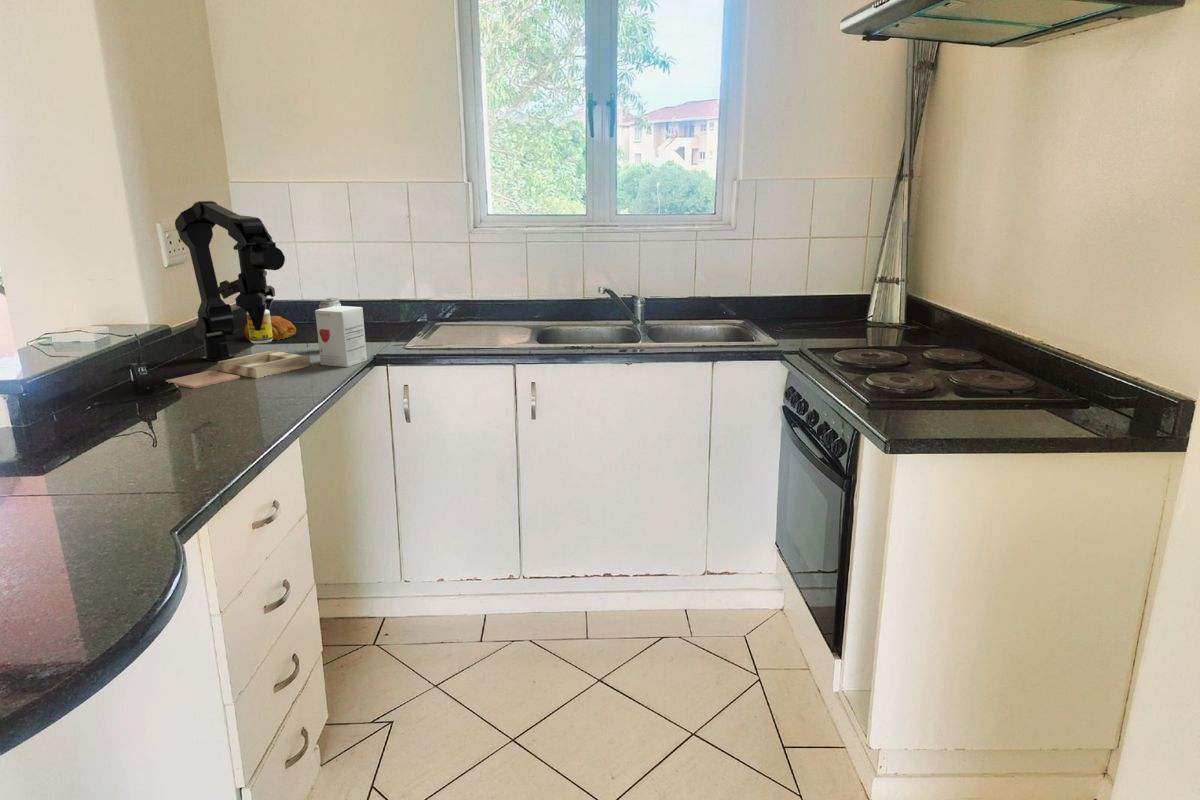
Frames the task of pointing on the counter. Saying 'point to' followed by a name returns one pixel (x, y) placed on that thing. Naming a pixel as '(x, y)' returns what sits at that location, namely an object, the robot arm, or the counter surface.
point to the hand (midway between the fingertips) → (260, 328)
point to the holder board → (264, 364)
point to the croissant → (278, 328)
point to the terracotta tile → (203, 379)
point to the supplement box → (341, 335)
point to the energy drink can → (329, 303)
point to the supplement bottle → (265, 331)
